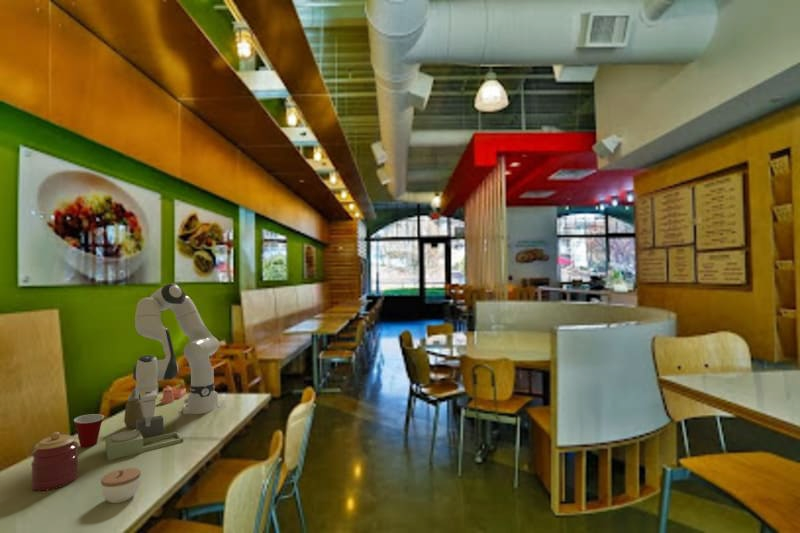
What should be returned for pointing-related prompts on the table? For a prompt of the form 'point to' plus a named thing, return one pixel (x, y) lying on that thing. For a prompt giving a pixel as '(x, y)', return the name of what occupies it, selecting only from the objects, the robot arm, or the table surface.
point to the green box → (135, 443)
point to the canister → (54, 462)
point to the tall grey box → (150, 427)
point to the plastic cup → (88, 429)
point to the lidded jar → (120, 484)
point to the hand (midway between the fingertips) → (146, 423)
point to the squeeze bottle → (132, 411)
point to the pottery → (172, 394)
